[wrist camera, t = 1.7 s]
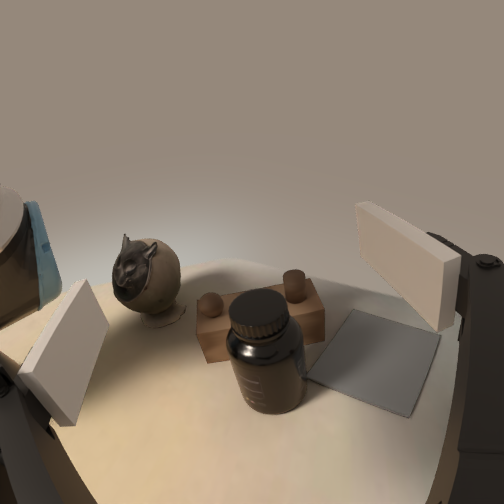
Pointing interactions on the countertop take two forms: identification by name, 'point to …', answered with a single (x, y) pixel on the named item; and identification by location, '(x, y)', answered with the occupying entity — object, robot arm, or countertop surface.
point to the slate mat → (377, 362)
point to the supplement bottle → (266, 351)
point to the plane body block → (294, 288)
